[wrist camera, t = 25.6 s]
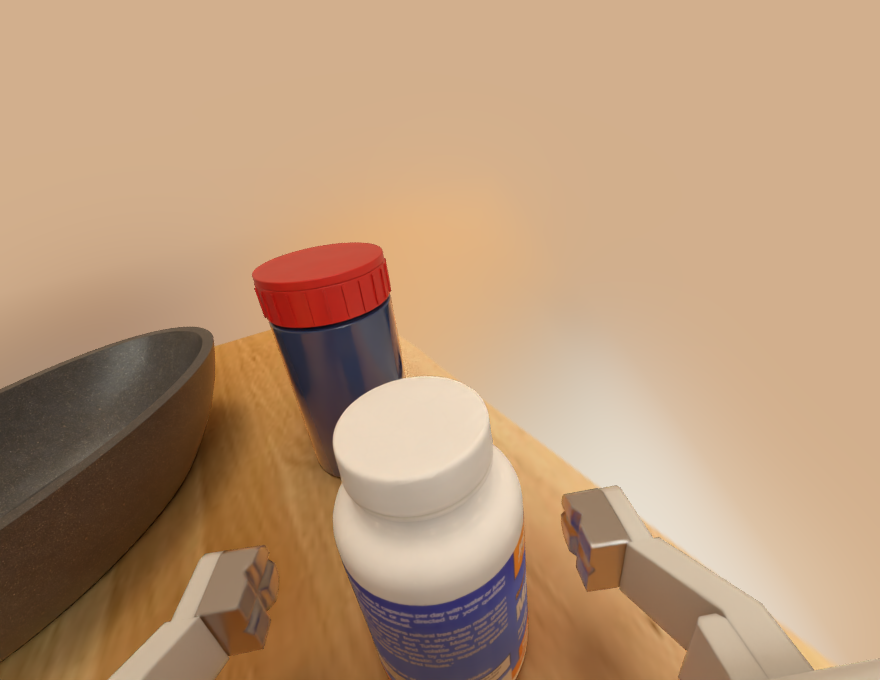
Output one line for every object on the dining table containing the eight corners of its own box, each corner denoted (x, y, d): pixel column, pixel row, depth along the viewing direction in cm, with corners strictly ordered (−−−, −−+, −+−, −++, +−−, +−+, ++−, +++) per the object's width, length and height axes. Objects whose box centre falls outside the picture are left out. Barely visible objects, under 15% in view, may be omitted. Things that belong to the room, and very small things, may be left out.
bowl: (294, 403, 28) (266, 324, 25) (-184, 992, 9) (-525, 953, 6) (154, 399, 31) (114, 328, 28) (-442, 851, 12) (-766, 776, 9)
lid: (250, 339, 17) (232, 292, 16) (279, 290, 22) (267, 253, 21) (394, 314, 17) (385, 268, 16) (388, 272, 23) (382, 235, 22)
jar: (310, 489, 21) (238, 303, 16) (322, 419, 26) (271, 262, 21) (421, 467, 21) (385, 279, 16) (411, 402, 27) (382, 245, 22)
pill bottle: (559, 681, 13) (570, 458, 8) (395, 759, 11) (303, 550, 7) (490, 537, 17) (473, 345, 13) (369, 582, 16) (303, 389, 12)
